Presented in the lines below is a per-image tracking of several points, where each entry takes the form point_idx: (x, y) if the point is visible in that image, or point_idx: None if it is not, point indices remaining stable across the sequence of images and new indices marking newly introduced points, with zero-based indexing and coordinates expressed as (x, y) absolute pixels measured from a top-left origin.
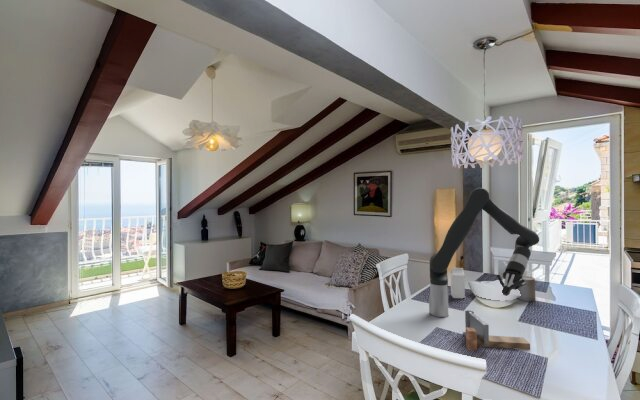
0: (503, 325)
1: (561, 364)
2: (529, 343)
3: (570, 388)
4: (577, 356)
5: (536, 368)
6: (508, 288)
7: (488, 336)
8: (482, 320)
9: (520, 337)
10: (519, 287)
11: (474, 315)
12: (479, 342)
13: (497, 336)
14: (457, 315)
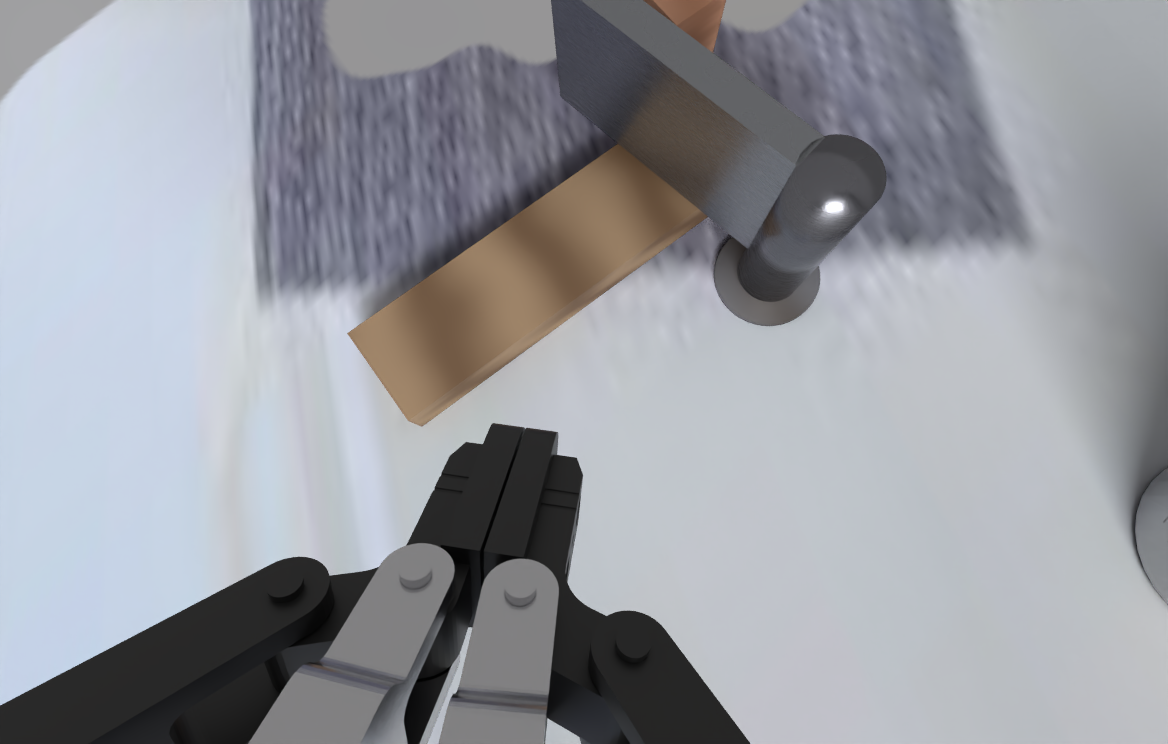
0: None
1: (182, 260)
2: (351, 334)
3: (140, 30)
4: (97, 460)
5: (294, 111)
6: (441, 539)
7: (557, 55)
8: (631, 36)
9: (427, 403)
10: (183, 717)
11: (748, 106)
12: None
13: (568, 291)
14: (1092, 658)
